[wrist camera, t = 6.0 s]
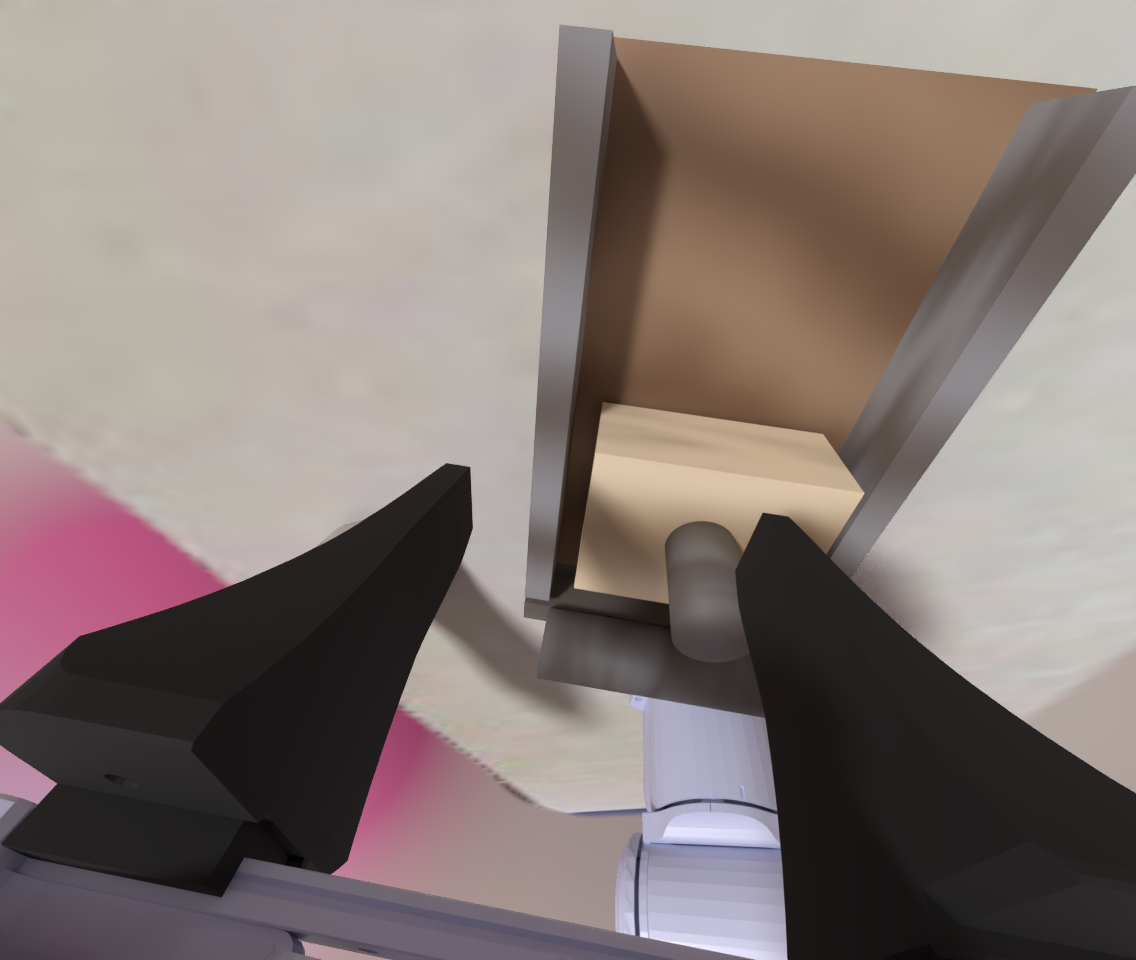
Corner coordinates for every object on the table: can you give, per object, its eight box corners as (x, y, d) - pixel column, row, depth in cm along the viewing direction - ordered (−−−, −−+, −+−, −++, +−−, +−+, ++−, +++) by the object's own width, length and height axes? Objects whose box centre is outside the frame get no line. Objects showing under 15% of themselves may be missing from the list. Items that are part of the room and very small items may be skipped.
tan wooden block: (761, 555, 22) (813, 718, 15) (582, 527, 22) (560, 674, 16) (823, 434, 18) (930, 586, 11) (602, 401, 18) (583, 531, 12)
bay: (767, 610, 26) (805, 739, 20) (533, 571, 26) (504, 686, 21) (1067, 94, 12) (1455, 27, 6) (573, 41, 13) (521, -64, 7)
